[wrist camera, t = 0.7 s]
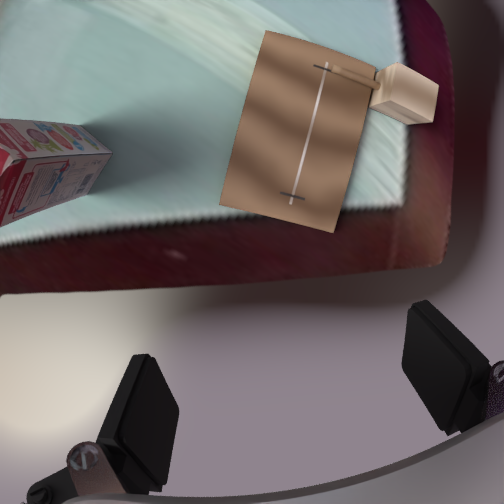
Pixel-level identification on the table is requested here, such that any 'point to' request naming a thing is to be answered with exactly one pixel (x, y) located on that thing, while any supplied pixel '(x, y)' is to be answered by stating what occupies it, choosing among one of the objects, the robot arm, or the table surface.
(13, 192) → the juice carton
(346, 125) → the board
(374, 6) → the table surface
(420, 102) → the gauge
